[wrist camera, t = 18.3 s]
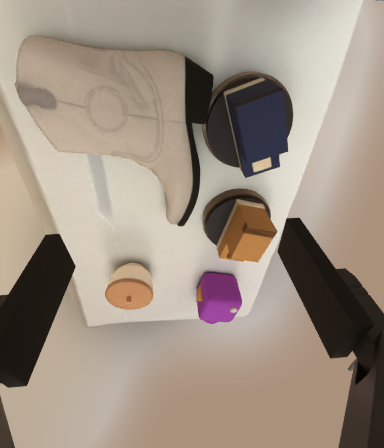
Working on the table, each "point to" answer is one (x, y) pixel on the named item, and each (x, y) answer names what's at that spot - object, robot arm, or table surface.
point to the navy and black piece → (250, 125)
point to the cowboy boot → (120, 108)
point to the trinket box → (130, 287)
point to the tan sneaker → (240, 229)
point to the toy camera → (218, 298)
